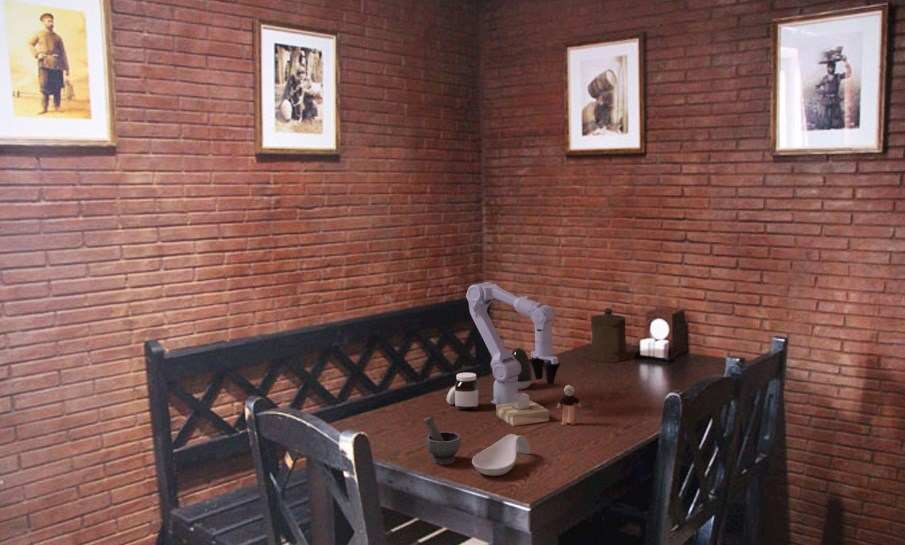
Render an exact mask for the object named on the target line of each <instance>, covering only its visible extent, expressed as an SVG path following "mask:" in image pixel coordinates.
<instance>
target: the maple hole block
mask: <svg viewBox="0 0 905 545" xmlns="http://www.w3.org/2000/svg"><path fill="white" fill-rule="evenodd" d="M495 408H496V409H495V412H496V414H495V415H496V416H497V417H498V418H500V419H501V420H503V421H505V423H507V424H509V425H510V426H512V427H514V426H523V425H529V424H537V423H542V422H549V421H550V410H549V409H547V408H545V407H544V406H542V405H540V404H538V403H537V402H535V401H532V400H529V409H528V410H521V411H518V410H516V409H514V408H513V403H508V404H501V405H495Z"/></svg>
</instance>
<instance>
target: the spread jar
mask: <svg viewBox="0 0 905 545" xmlns="http://www.w3.org/2000/svg"><path fill="white" fill-rule="evenodd" d="M446 402H447V403H448V404H450V405H455V408H456V409H458V410H460V411H473V410H476V409H478V407H479V383H478V381H477V374H476V373H474V372H460V373H457V374H456V381H455V385H454V386H452V387H451V388H450V389H449V391H448V393H447V395H446Z"/></svg>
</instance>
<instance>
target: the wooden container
mask: <svg viewBox="0 0 905 545" xmlns="http://www.w3.org/2000/svg"><path fill="white" fill-rule="evenodd" d="M590 318H591V320H590V322H591V324H590V328H591V330H590V358H591V360H593V361H596V362H600V363H601V362H602V363H617V362H623V361H625V360H627V359H626V358H627V342H626V341H627V340H626V338H627V337H626V317H625V316H622V315H617V314H615V315H614V314H613V309H612V308H605V309H604V314H597V315H592V316H591V317H590Z"/></svg>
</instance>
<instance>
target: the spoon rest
mask: <svg viewBox="0 0 905 545" xmlns="http://www.w3.org/2000/svg"><path fill="white" fill-rule="evenodd" d="M531 451H532V450H531V446H530V443H529V441H528V439H527V438H526V437H525V436H524V435H516V434H515V433H509V434H507V435H505V436H504V437H502V438H500V439H499V440H498V441H496V442H495V443H493V444H492V445H490V446H488V447H487V448H486V449H484V450H482V451H480V452H478V453H477V454H475V455H474V456H473V457H472V460H471V464H472V465H473V467H474V468H475V469H476V470H477V471H478V472H479V473H481V474H483V475H486V476H490V477H497V476H503V475H505V474H506V473H508V472H510V470H512V469H513V467H514V466H515V463H516V461H517V458H518V456H517V454H518V453H519V454H524V455H530V454H531Z"/></svg>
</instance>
